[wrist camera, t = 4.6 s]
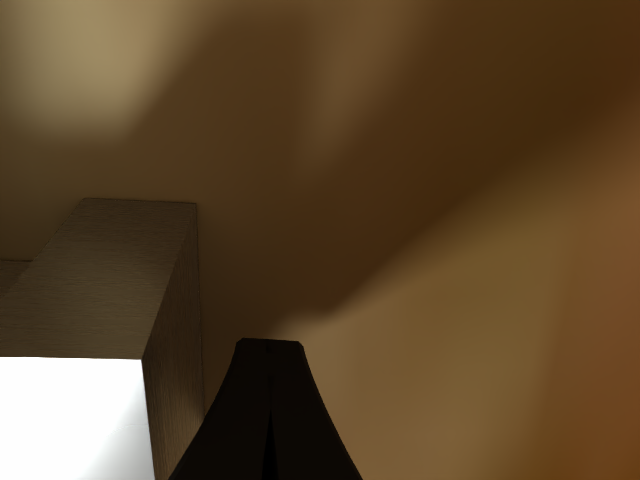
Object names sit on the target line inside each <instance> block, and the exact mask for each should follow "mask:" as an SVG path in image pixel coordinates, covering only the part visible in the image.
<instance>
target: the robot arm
mask: <svg viewBox="0 0 640 480" xmlns="http://www.w3.org/2000/svg"><path fill="white" fill-rule="evenodd" d="M168 480H363V479H362V477H361V475H360V474H359V472H358V470H357V468H356V466H355V465H354V463H353V461H352V459H351V458H350V456H349V454H348V452H347V450H346V448H345V446H344V444H343V442H342V440H341V438H340V436H339V434H338V432H337V430H336V428H335V426H334V424H333V422H332V420H331V418H330V416H329V414H328V412H327V409H326V407H325V405H324V403H323V400H322V398H321V396H320V393H319V391H318V388H317V386H316V384H315V381H314V379H313V376H312V373H311V370H310V368H309V365H308V362H307V358H306V355H305V352H304V348H303V346H302V345H301V344H300V342H299V341H288V340H272V339H256V338H242V339H241V340H239V341H238V342H237V343H236V347H235V352H234V355H233V358H232V361H231V364H230V366H229V369H228V371H227V374H226V376H225V378H224V380H223V383H222V385H221V387H220V389H219V391H218V393H217V395H216V397H215V399H214V401H213V403H212V405H211V407H210V409H209V411H208V413H207V415H206V416H205V418H204V420H203V422H202V424H201V426H200V428H199V429H198V431H197V433H196V435H195V436H194V438H193V439H192V441H191V443H190V444H189V446H188V448H187V449H186V451H185V453H184V454H183V456H182V458H181V459H180V461H179V462H178V464H177V466H176V467H175V469H174V471H173V472H172V474H171V475H170V477H169V478H168Z"/></svg>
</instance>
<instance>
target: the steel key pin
mask: <svg viewBox="0 0 640 480" xmlns="http://www.w3.org/2000/svg"><path fill="white" fill-rule="evenodd" d="M203 420H204V396H203V370H202V345H201V319H200V294H199V268H198V243H197V217H196V204H195V203H174V202H153V201H131V200H110V199H88V198H84V199H83V200H82V201H81V203H80V204H79V205H78V206H77V207H76V209H75V210H74V211H73V212H72V214H71V215H70V216H69V217H68V219H67V220H66V221H65V222H64V223H63V225H62V226H61V227H60V228H59V230H58V231H57V232H56V233H55V234H54V236H53V237H52V238H51V239H50V241H49V242H48V243H47V244H46V246H45V247H44V248H43V249H42V250H41V252H40V253H39V254H38V255H37V257H36V258H35V259H34V260H33V261H32V262H28V261H0V480H168V478H169V477H170V475H171V474H172V472H173V471H174V469H175V467H176V466H177V464H178V462H179V461H180V459H181V458H182V456H183V454H184V453H185V451H186V449H187V448H188V446H189V444H190V443H191V441H192V439H193V438H194V436H195V435H196V433H197V431H198V429H199V428H200V426H201V424H202V422H203Z"/></svg>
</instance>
